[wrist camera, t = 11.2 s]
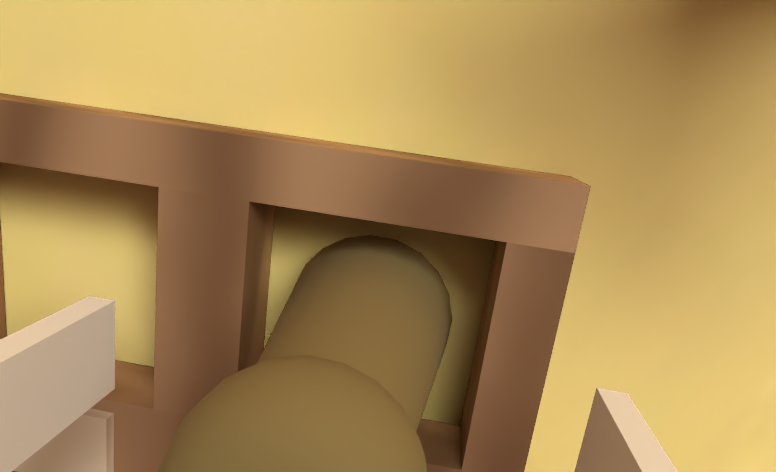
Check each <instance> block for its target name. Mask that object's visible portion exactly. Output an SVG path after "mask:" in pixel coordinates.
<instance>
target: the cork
mask: <svg viewBox="0 0 776 472" xmlns="http://www.w3.org/2000/svg"><path fill="white" fill-rule="evenodd" d="M451 322H452V314H451V306H450V297H449V293H448V291H447V289H446V287H445V285H444V283H443V281H442V279H441V277H440V275H439V273H438V271H437V270H436V269H435V268H434V267H433V266H432V265H431V264H430V263H429V262H428V261H427V260H426V259H425V258H424V256H423V255H422V254H421V253H419V252H417V251H416V250H414V249H412V248H410V247H408V246H406V245H405V244H403V243H401V242H399V241H397V240H393V239H388V238H383V237H378V236H373V235H368V236H359V237H350V238H345V239H342V240H340V241H338V242H336V243H334V244H332V245H329V246H327V247H325V248H323V249H322V250H321V251H320V252H319V253H318V254H317V255H316V256H315V257H314V258H313V259H311V260H310V261H309V262H308V263H307V264H306V265H305V267H304V269H303V271H302V273H301V275H300V277H299V279H298V281H297V283H296V285H295V287H294V289H293V291H292V293H291V295H290V297H289V299H288V301H287V303H286V305H285V307H284V309H283V311H282V313H281V315H280V317H279V320H278V322H277V324H276V326H275V328H274V330H273V332H272V334H271V336H270V338H269V340H268V342H267V344H266V346H265V348H264V350H263V352H262V354H261V356H260V358H259V360H258V362H257V364H255V365H253V366H250V367H248V368H245V369H243V370H241V371H239V372H237V373H235V374H233V375H231V376H229V377H227V378H225V379H223V380H222V381H221V382H220V383H219V384H218V385H217V386H216V387H215V388H214V389H213V390H211V391H210V392H209V393H208V394H207V395H206V396H205V397H204V398H203V399H202V400H201V401H200V402H199V403H198V404H197V405H196V406H195V407H194V408H193V409H192V410H191V411H190V412H189V413H188V414H187V415H186V416H185V417H184V419H183V420H182V421H181V423H180V426H179V428H178V430H177V432H176V434H175V436H174V438H173V440H172V442H171V444H170V447H169V449H168V451H167V453H166V455H165V457H164V460H163V462H162V464H161V466H160V469H159V471H158V472H427V466H426V459H425V454H424V451H423V448H422V445H421V442H420V438H419V437H418V435H417V433H416V432H417V429H418V426H419V423H420V420H421V417H422V414H423V411H424V408H425V405H426V402H427V399H428V396H429V394H430V391H431V388H432V385H433V382H434V379H435V376H436V373H437V370H438V367H439V364H440V361H441V358H442V356H443V353H444V350H445V347H446V344H447V340H448V336H449V331H450V327H451Z"/></svg>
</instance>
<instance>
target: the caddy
mask: <svg viewBox="0 0 776 472" xmlns="http://www.w3.org/2000/svg"><path fill="white" fill-rule="evenodd" d="M0 162H4V163H10V164H16V165H23V166H29V167H35V168H42V169H48V170H54V171H61V172H67V173H73V174H79V175H86V176H92V177H98V178H105V179H111V180H117V181H124V182H130V183H136V184H142V185H149V186H155V187H159V190H158V232H157V274H156V315H155V357H154V367H149V366H143V365H138V364H133V363H128V362H122V361H117V360H115V389H114V390H113V391H111V392H110V393H109V394H108V395H106V396H105V397H104V398H103V399H101V400H100V401H99V402H98V403H96V404H95V405H94V406H93V407H91V408H90V409H89V410H88V411H86V412H85V413H84V414H83V415H81V416H80V417H79V418H78V419H76V420H75V421H74V422H73V423H71V424H70V425H69V426H68V427H66V428H65V429H64V430H63V431H61V432H60V433H59V434H58V435H57V436H55V437H54V438H53V439H52V440H50V441H49V442H48V443H47V444H45V445H44V446H43V447H42V448H40V449H39V450H38V451H37V452H35V453H34V454H33V455H32V456H30V457H29V458H28V459H27V460H25V461H24V462H23V463H22V464H20V465H19V466H18V467H17V468H15V469H14V470H13V471H12V472H158V471H159V469H160V466H161V464H162V462H163V460H164V457H165V455H166V453H167V451H168V449H169V447H170V444H171V442H172V440H173V438H174V436H175V434H176V432H177V430H178V428H179V426H180V423H181V421H182V420H183V419H184V417H185V416H186V415H187V414H188V413H189V412H190V411H191V410H192V409H193V408H194V407H195V406H196V405H197V404H198V403H199V402H200V401H201V400H202V399H203V398H204V397H205V396H206V395H207V394H208V393H209V392H210V391H211V390H213V389H214V388H215V387H216V386H217V385H218V384H219V383H220V382H221V381H222V380H223V379H225V378H227V377H229V376H231V375H233V374H235V373H237V372H239V371H241V370H243V369H245V368H248V367H250V366H253V365H255V364H257V362H258V360H259V358H260V356H261V354H262V352H263V348H264V335H265V323H266V311H267V298H268V286H269V274H270V261H271V249H272V237H273V225H274V212H275V206H281V207H287V208H294V209H300V210H306V211H313V212H319V213H325V214H331V215H338V216H344V217H350V218H357V219H363V220H369V221H376V222H382V223H388V224H394V225H401V226H407V227H413V228H420V229H426V230H432V231H439V232H445V233H451V234H457V235H464V236H470V237H476V238H483V239H489V240H495V241H496V244H495V250H494V255H493V260H492V265H491V270H490V275H489V281H488V286H487V291H486V296H485V301H484V307H483V312H482V317H481V322H480V327H479V332H478V338H477V343H476V348H475V353H474V358H473V363H472V369H471V374H470V379H469V384H468V389H467V395H466V400H465V405H464V410H463V415H462V420H461V426H456V425H451V424H446V423H441V422H435V421H430V420H425V419H421V420H420V423H419V426H418V429H417V432H416V433H417V435H418V437H419V438H420V442H421V445H422V448H423V451H424V454H425V459H426V466H427V472H524V469H525V465H526V461H527V456H528V452H529V448H530V443H531V439H532V435H533V431H534V426H535V422H536V418H537V414H538V409H539V405H540V401H541V396H542V392H543V388H544V384H545V379H546V375H547V371H548V367H549V362H550V358H551V354H552V349H553V345H554V341H555V337H556V332H557V328H558V324H559V319H560V315H561V311H562V307H563V302H564V298H565V294H566V290H567V285H568V281H569V277H570V272H571V268H572V264H573V260H574V255H575V251H576V247H577V242H578V238H579V234H580V230H581V225H582V221H583V217H584V213H585V208H586V204H587V200H588V195H589V191H590V187H591V186H589V185H587V184H585V183H583V182H581V181H579V180H577V179H575V178H573V177H571V176H564V175H557V174H550V173H543V172H536V171H529V170H523V169H516V168H509V167H502V166H495V165H488V164H481V163H475V162H468V161H461V160H454V159H447V158H440V157H433V156H427V155H420V154H413V153H406V152H399V151H392V150H385V149H379V148H372V147H365V146H358V145H351V144H344V143H337V142H331V141H324V140H317V139H310V138H303V137H296V136H289V135H283V134H276V133H269V132H262V131H255V130H248V129H241V128H235V127H228V126H221V125H214V124H207V123H200V122H193V121H187V120H180V119H173V118H166V117H159V116H152V115H145V114H139V113H132V112H125V111H118V110H111V109H104V108H97V107H91V106H84V105H77V104H70V103H63V102H56V101H49V100H43V99H36V98H29V97H22V96H15V95H8V94H1V93H0ZM5 337H6V319H5V300H4V282H3V263H2V245H1V226H0V339H3V338H5Z"/></svg>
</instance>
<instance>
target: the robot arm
mask: <svg viewBox="0 0 776 472" xmlns="http://www.w3.org/2000/svg"><path fill="white" fill-rule="evenodd" d="M114 389H115V300H110V299H104V298H99V297H93V296H88V297H86V298H84V299H82V300H80V301H78V302H76V303H74V304H72V305H70V306H68V307H66V308H64V309H62V310H60V311H58V312H55V313H53V314H51V315H49V316H47V317H45V318H43V319H41V320H39V321H37V322H35V323H33V324H31V325H29V326H27V327H25V328H23V329H21V330H19V331H17V332H15V333H13V334H11V335H9V336H7V337H5V338H3V339H0V472H12V471H13V470H14V469H15V468H17V467H18V466H19V465H20V464H22V463H23V462H24V461H25V460H27V459H28V458H29V457H30V456H32V455H33V454H34V453H35V452H37V451H38V450H39V449H40V448H42V447H43V446H44V445H45V444H47V443H48V442H49V441H50V440H52V439H53V438H54V437H55V436H57V435H58V434H59V433H60V432H61V431H63V430H64V429H65V428H66V427H68V426H69V425H70V424H71V423H73V422H74V421H75V420H76V419H78V418H79V417H80V416H81V415H83V414H84V413H85V412H86V411H88V410H89V409H90V408H91V407H93V406H94V405H95V404H96V403H98V402H99V401H100V400H101V399H103V398H104V397H105V396H106V395H108V394H109V393H110V392H111V391H113V390H114ZM575 472H678V471H677V470H676V468H675V467H674V465H673V464H672V462H671V460H670V459H669V457H668V456H667V454H666V453H665V451H664V449H663V448H662V446H661V445H660V443H659V442H658V440H657V439H656V437H655V435H654V434H653V432H652V431H651V429H650V428H649V426H648V424H647V423H646V421H645V420H644V418H643V417H642V415H641V413H640V412H639V410H638V409H637V407H636V406H635V404H634V403H633V401H632V399H631V398H630V396H629V395H628V393H624V392H618V391H613V390H607V389H602V388H596V392H595V396H594V400H593V404H592V408H591V411H590V415H589V419H588V423H587V427H586V430H585V434H584V438H583V442H582V446H581V449H580V453H579V457H578V461H577V465H576V468H575Z"/></svg>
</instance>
